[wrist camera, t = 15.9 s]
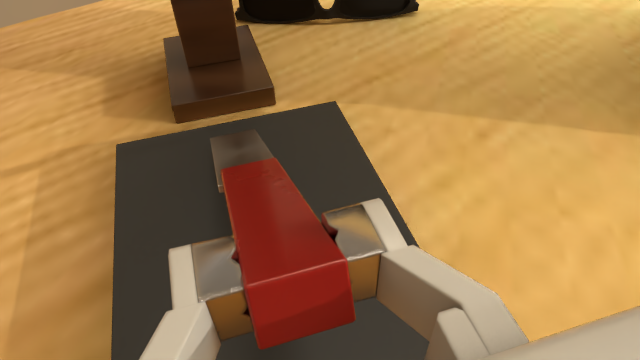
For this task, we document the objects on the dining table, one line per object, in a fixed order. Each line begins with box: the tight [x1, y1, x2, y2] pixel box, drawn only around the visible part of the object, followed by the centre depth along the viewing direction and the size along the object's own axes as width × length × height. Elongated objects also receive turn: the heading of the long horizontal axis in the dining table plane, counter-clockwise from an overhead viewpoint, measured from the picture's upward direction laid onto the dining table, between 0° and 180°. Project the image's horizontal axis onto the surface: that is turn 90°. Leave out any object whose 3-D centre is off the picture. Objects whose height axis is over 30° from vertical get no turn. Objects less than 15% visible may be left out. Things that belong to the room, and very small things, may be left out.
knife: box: [210, 129, 356, 350], centre depth 18 cm, size 18×3×2 cm, turn 18°
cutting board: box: [111, 101, 429, 360], centre depth 21 cm, size 24×14×2 cm, turn 17°
